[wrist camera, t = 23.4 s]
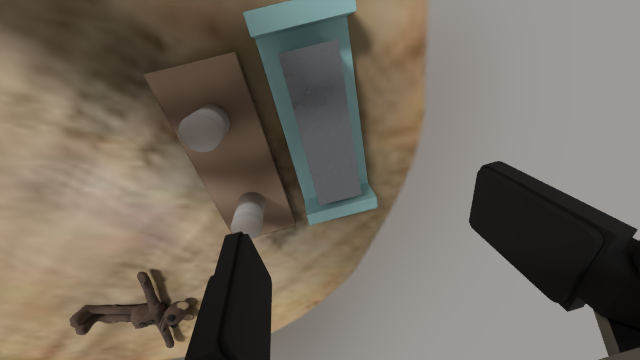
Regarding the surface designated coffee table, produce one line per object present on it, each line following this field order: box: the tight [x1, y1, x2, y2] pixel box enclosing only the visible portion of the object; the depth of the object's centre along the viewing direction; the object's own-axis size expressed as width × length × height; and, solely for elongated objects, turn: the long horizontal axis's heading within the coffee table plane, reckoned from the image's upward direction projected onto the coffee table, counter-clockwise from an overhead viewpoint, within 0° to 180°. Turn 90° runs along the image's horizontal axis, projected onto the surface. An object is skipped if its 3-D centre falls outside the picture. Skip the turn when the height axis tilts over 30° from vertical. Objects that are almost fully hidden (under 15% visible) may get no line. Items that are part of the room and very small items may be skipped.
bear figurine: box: [70, 272, 194, 348], centre depth 33 cm, size 18×4×14 cm
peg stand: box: [143, 52, 296, 239], centre depth 23 cm, size 20×8×6 cm, turn 12°
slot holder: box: [243, 0, 378, 225], centre depth 23 cm, size 20×8×4 cm, turn 12°
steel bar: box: [278, 39, 361, 206], centre depth 22 cm, size 14×4×4 cm, turn 12°
